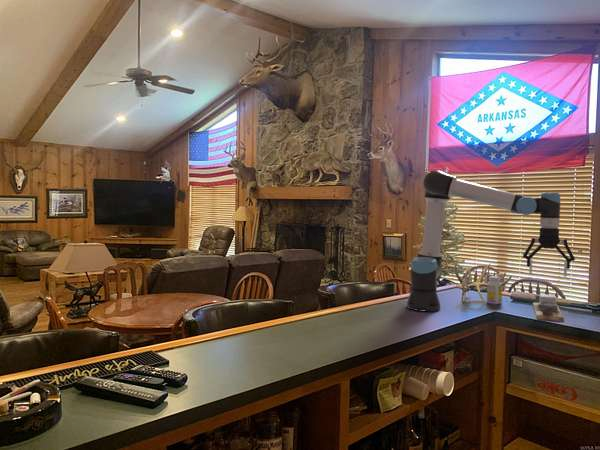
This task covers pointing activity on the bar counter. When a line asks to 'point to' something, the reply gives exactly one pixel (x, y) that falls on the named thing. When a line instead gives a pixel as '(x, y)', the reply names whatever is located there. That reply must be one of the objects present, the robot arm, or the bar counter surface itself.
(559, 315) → the shaft bed
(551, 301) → the coupler
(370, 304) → the bar counter surface
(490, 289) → the supplement bottle
